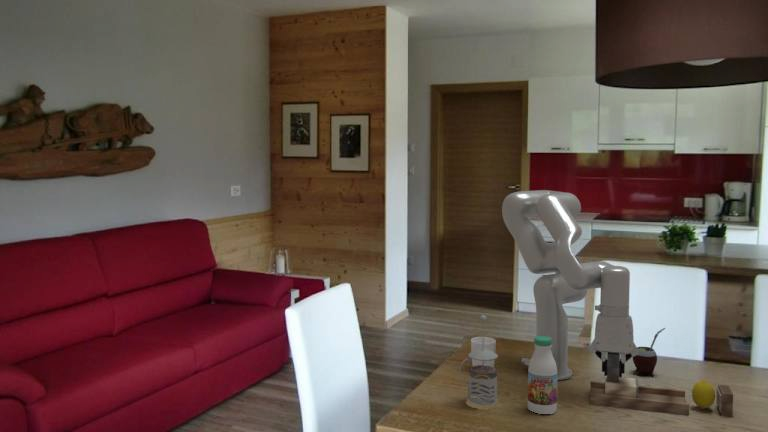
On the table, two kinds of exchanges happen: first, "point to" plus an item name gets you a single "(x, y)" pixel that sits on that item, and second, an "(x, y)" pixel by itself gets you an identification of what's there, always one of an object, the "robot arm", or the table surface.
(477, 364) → the translucent flanged cylinder
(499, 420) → the table surface
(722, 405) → the open brown box
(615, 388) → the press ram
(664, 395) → the press bed
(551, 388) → the milk bottle
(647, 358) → the mate gourd
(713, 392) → the lemon
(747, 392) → the table surface
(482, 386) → the french press
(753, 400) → the table surface
